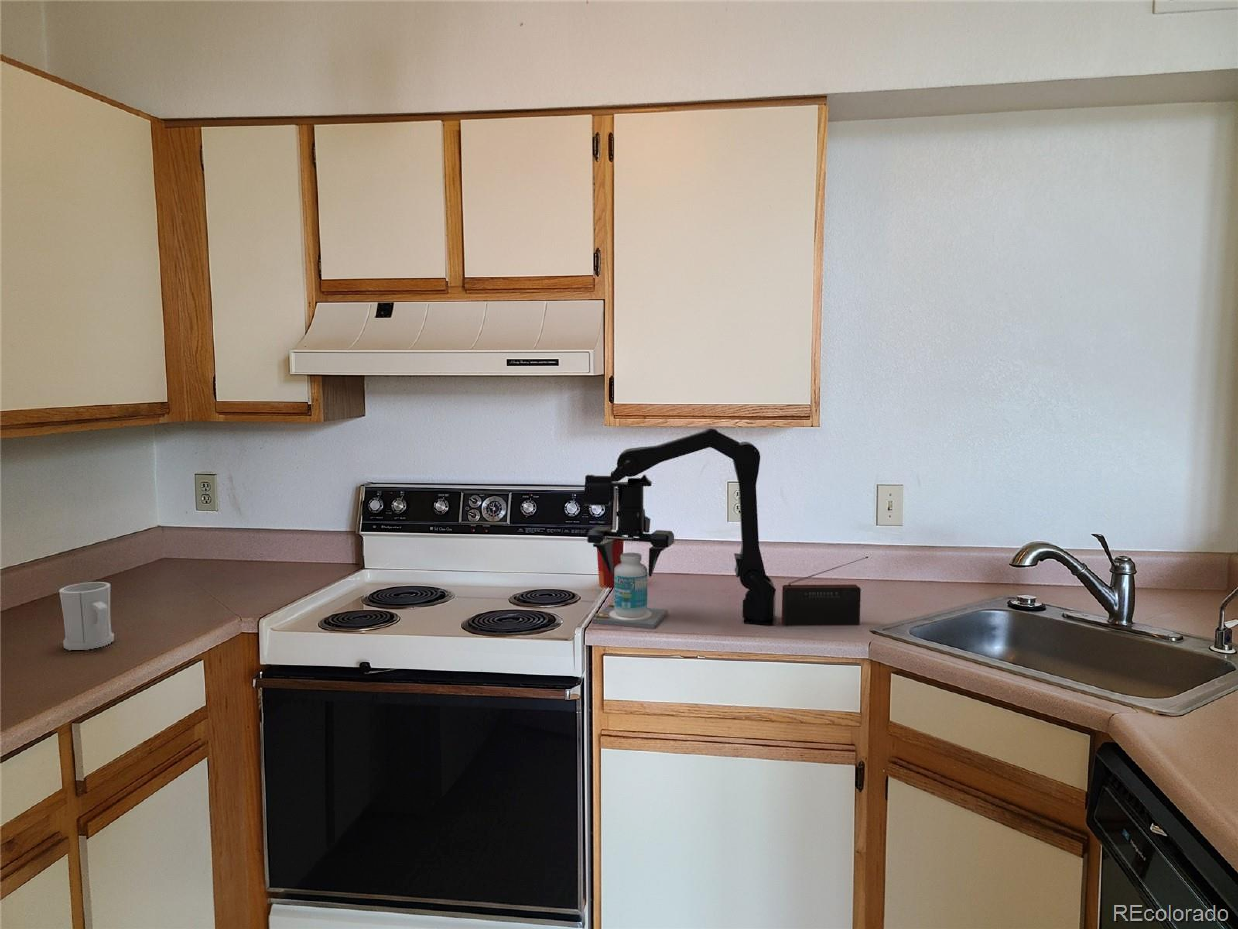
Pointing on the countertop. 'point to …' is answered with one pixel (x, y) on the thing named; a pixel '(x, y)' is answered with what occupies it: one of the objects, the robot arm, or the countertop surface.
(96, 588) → the cup
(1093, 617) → the countertop surface
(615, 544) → the paper cup
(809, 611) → the radio
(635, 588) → the pill bottle
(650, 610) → the plate
